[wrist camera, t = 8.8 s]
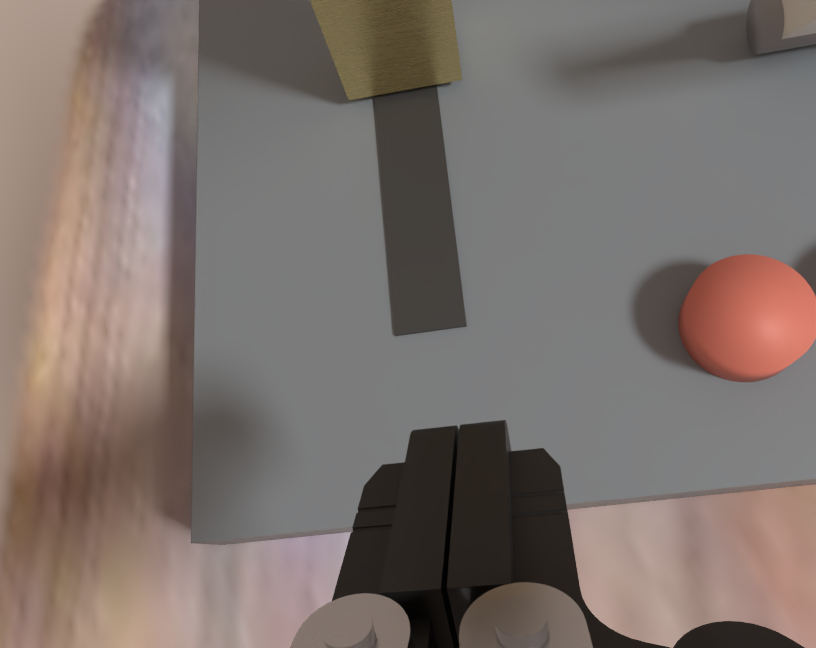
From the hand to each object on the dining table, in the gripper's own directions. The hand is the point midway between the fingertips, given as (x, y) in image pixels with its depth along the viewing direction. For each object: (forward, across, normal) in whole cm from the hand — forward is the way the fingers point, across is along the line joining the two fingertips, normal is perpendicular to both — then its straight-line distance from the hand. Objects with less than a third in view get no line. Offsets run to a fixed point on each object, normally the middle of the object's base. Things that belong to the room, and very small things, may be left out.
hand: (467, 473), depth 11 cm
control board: (+13, -3, -1) cm, 14 cm away
